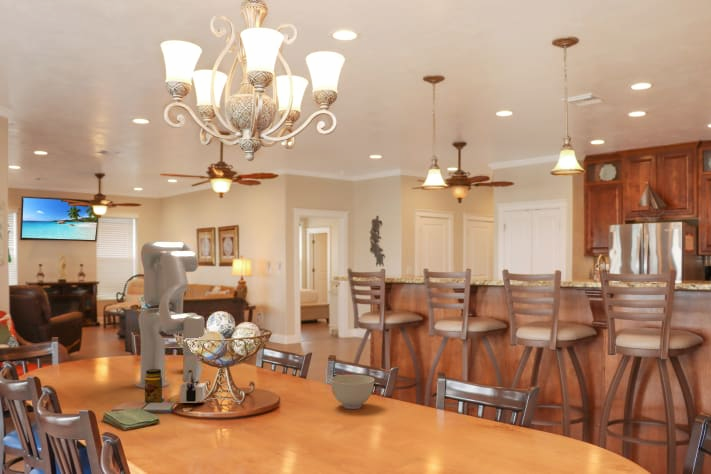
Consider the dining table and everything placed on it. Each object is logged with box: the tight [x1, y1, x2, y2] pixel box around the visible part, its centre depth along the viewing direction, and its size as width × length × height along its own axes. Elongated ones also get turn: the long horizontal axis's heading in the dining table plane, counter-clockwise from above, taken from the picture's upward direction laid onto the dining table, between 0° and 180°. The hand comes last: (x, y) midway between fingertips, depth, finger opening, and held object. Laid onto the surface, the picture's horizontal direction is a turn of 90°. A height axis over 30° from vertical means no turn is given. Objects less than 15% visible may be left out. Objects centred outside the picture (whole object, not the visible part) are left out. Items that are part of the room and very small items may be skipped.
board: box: [110, 402, 178, 414], centre depth 225 cm, size 10×20×1 cm, turn 92°
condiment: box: [142, 369, 165, 403], centre depth 236 cm, size 7×8×12 cm
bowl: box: [330, 374, 375, 410], centre depth 232 cm, size 16×16×10 cm
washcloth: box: [102, 408, 161, 431], centre depth 210 cm, size 13×18×3 cm
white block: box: [179, 382, 207, 404], centre depth 234 cm, size 6×8×6 cm
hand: (192, 398), depth 234 cm, fingers closed on white block, 5 cm apart
